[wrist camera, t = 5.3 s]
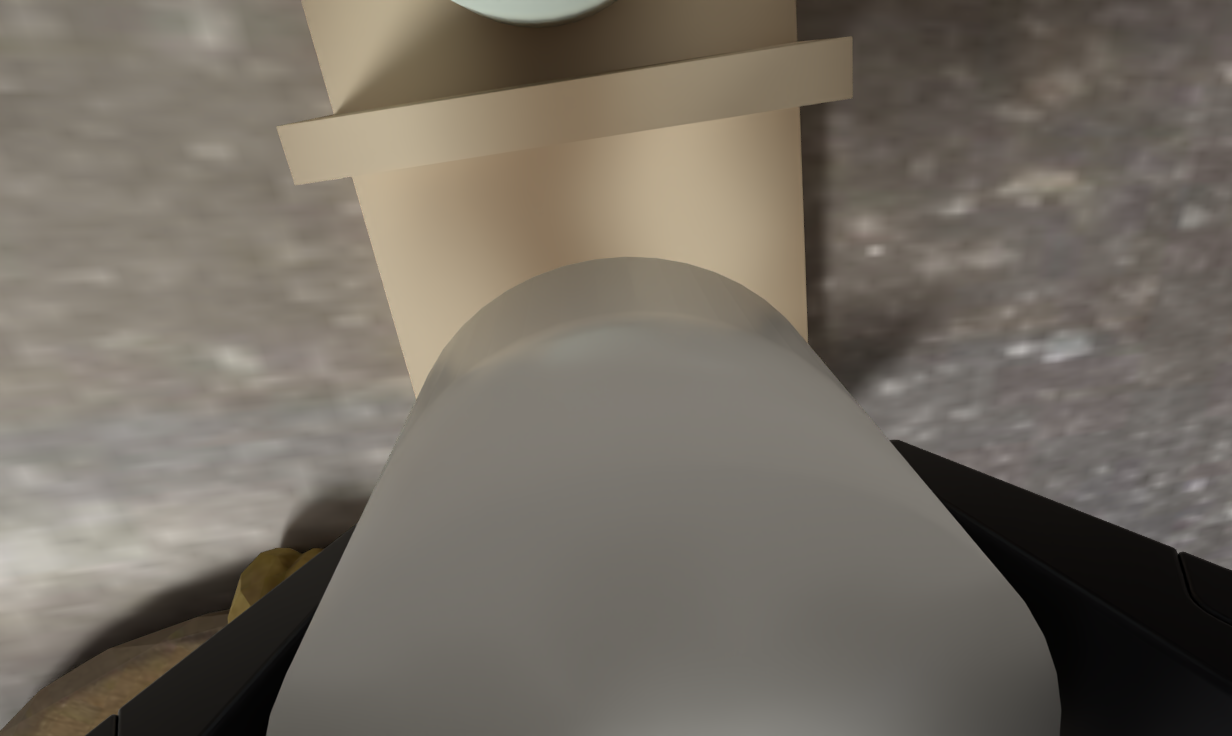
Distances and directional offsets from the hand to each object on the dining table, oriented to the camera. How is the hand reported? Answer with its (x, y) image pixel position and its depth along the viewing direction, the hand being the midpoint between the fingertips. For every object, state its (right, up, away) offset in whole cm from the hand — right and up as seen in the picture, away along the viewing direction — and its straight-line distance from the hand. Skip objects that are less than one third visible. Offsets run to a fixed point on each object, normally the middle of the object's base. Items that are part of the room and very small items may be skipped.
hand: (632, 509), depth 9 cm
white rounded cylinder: (0, +1, +1) cm, 1 cm away
